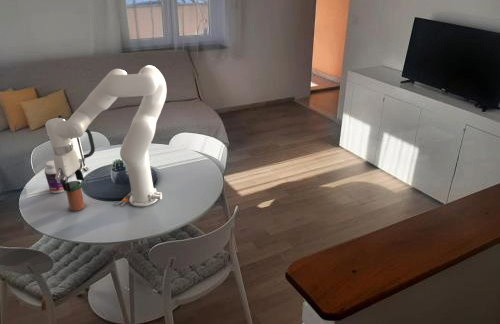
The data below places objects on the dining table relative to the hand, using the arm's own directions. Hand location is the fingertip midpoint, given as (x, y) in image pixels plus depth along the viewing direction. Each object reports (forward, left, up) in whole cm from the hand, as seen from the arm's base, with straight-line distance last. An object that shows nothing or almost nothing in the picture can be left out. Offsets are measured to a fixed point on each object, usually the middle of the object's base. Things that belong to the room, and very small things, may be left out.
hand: (74, 185), depth 175 cm
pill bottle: (+18, -11, -11) cm, 24 cm away
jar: (0, +1, -10) cm, 11 cm away
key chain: (-18, -10, -11) cm, 23 cm away
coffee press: (+23, -31, -11) cm, 40 cm away
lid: (0, +1, 0) cm, 1 cm away
